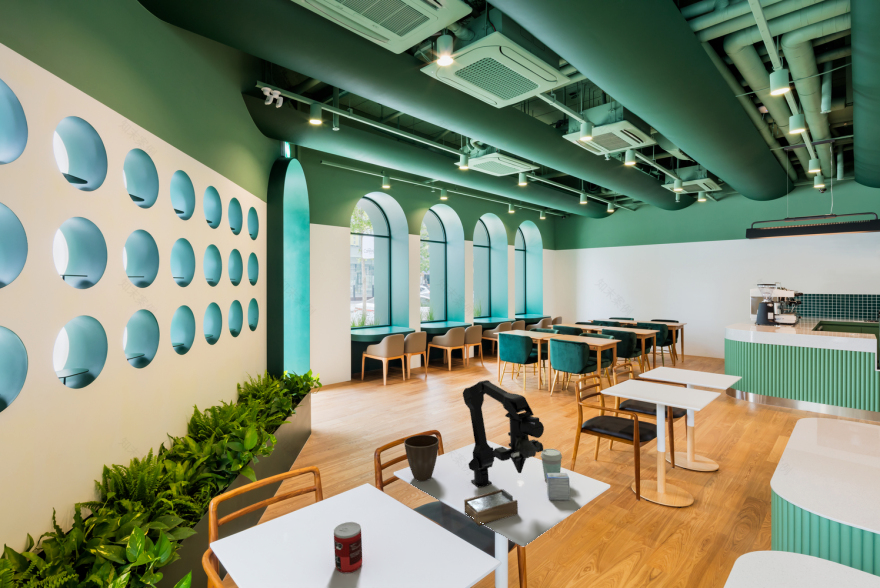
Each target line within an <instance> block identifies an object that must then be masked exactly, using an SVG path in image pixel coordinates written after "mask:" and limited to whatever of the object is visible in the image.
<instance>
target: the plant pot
mask: <svg viewBox="0 0 880 588" xmlns="http://www.w3.org/2000/svg"><path fill="white" fill-rule="evenodd" d="M403 443H404V449H405V454H406V459H407V463H408V465H409V468H410V472H411V474H412V476H413V478H414V480H416V481H417V480H418V482H426V481H429V480H431V478H432V477H433V474H434V471H435V470H434V469H435V467H436V462H437V457H438V452H439V443H440V439H439V438H438V437H437V436H435V435H430V434H417V435H413V436H409V437H407V438H405V439H404V441H403Z"/></svg>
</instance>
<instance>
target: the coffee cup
mask: <svg viewBox="0 0 880 588" xmlns="http://www.w3.org/2000/svg"><path fill="white" fill-rule="evenodd" d="M540 458H541V462H542V463H541V464H542V469H543V477H544V481H545V483H547V475H546V473H561V468H562V459H563V455H562V453H561V451H560V450H558V449H556V448H543V451H541V452H540Z"/></svg>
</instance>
